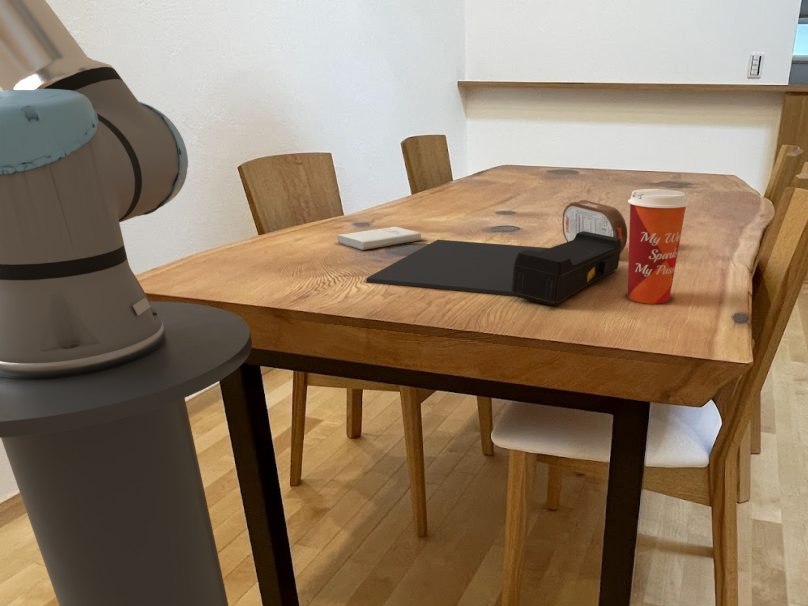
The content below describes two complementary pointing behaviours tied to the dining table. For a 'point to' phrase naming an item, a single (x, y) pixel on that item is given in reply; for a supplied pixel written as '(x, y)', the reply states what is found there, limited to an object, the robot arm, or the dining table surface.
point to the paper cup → (654, 243)
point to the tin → (593, 221)
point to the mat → (456, 267)
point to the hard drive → (378, 238)
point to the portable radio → (564, 267)
